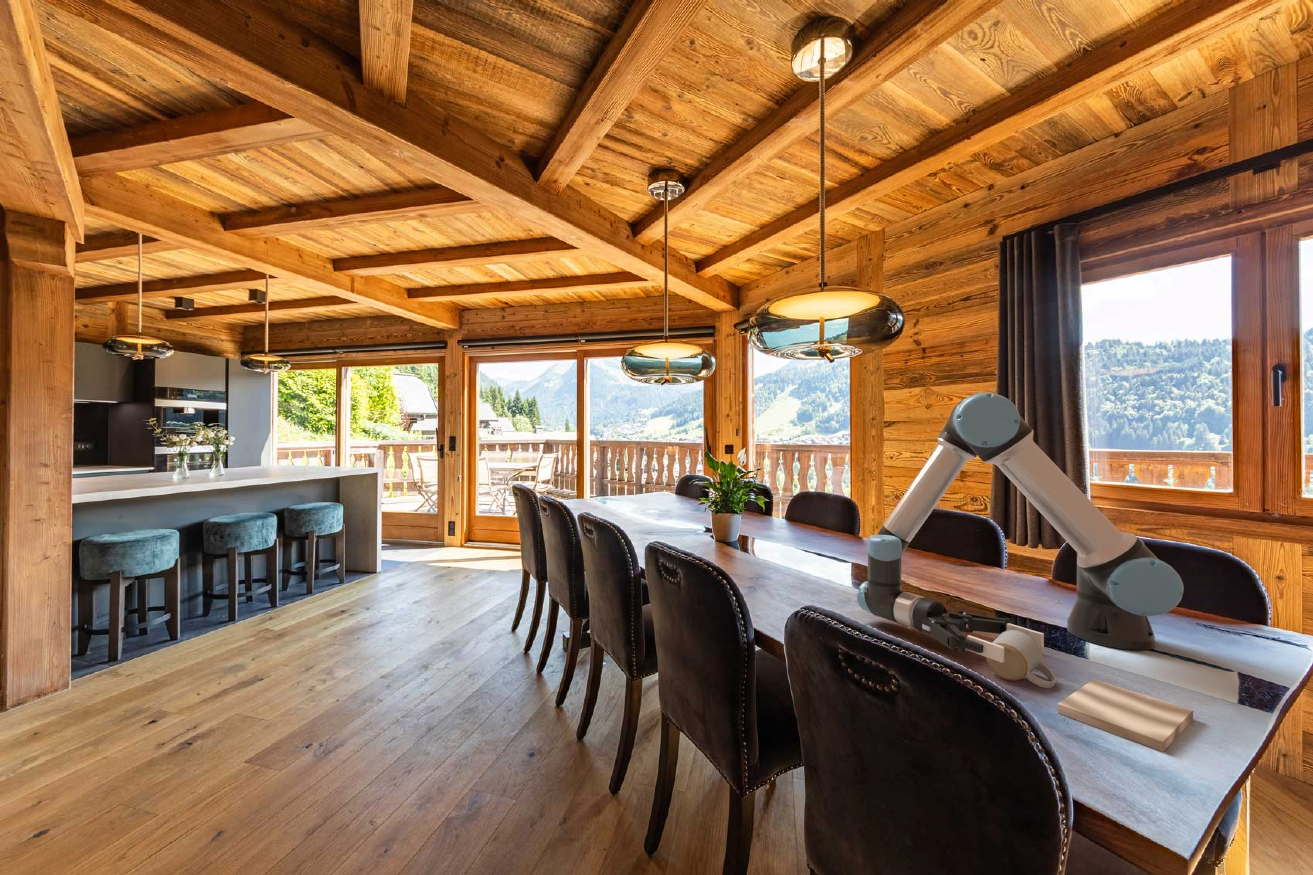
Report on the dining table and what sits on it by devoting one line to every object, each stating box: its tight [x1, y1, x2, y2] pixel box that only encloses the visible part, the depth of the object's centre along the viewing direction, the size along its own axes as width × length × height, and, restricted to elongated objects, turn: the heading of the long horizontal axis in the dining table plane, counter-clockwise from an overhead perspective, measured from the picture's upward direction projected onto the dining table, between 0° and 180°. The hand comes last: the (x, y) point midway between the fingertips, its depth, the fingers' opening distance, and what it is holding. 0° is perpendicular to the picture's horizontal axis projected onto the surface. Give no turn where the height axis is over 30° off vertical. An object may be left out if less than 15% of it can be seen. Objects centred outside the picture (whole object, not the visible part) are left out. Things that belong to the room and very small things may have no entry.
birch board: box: [1057, 678, 1194, 753], centre depth 87 cm, size 16×13×2 cm
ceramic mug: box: [985, 630, 1058, 689], centre depth 100 cm, size 11×8×8 cm
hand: (1023, 647), depth 100 cm, fingers open, 13 cm apart
